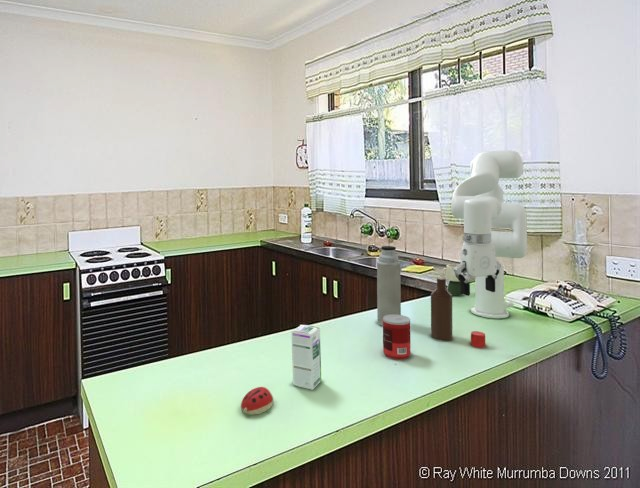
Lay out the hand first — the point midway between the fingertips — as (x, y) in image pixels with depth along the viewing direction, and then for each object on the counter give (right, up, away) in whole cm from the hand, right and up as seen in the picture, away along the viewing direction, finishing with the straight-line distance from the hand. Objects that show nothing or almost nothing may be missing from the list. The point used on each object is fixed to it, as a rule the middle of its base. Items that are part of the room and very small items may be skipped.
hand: (477, 292), depth 138 cm
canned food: (-27, -17, -6) cm, 33 cm away
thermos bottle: (-21, -16, +21) cm, 34 cm away
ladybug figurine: (-70, -19, -34) cm, 80 cm away
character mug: (+20, -14, +56) cm, 61 cm away
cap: (0, -16, 0) cm, 16 cm away
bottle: (-8, -16, +7) cm, 20 cm away
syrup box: (-57, -19, -22) cm, 64 cm away
